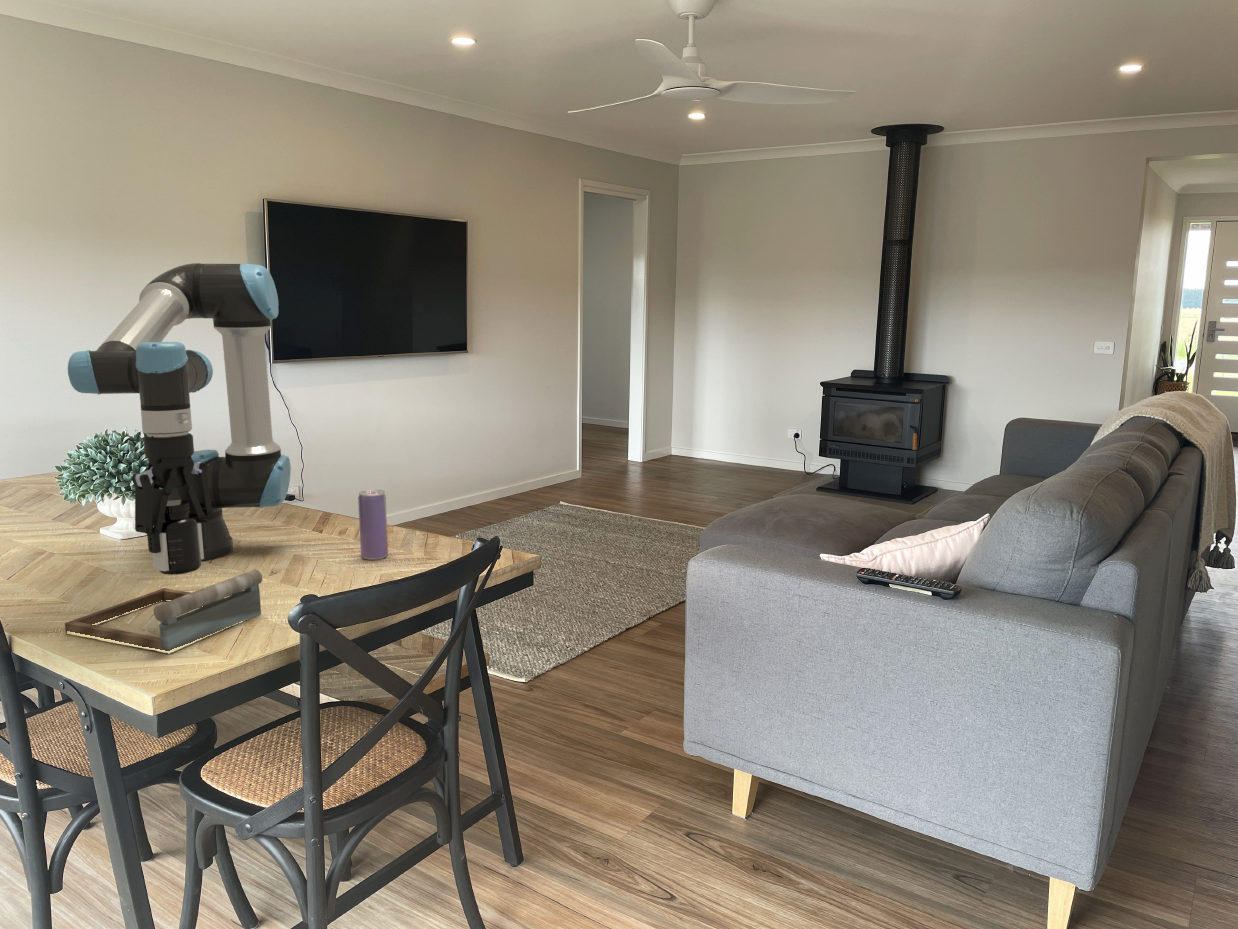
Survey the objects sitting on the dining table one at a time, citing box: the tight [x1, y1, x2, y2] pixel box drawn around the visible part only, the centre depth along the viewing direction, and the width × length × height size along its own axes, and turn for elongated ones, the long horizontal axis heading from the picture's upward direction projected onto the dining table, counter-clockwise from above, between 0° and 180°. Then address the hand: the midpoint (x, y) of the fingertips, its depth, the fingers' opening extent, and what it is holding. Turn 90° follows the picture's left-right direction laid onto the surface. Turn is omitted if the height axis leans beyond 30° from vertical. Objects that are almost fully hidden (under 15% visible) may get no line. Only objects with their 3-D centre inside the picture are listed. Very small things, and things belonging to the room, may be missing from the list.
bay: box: [64, 569, 263, 651], centre depth 156 cm, size 24×21×8 cm
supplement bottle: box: [159, 500, 202, 576], centre depth 153 cm, size 7×7×12 cm
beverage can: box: [357, 489, 389, 561], centre depth 198 cm, size 6×6×15 cm
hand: (179, 563), depth 153 cm, fingers closed on supplement bottle, 7 cm apart
